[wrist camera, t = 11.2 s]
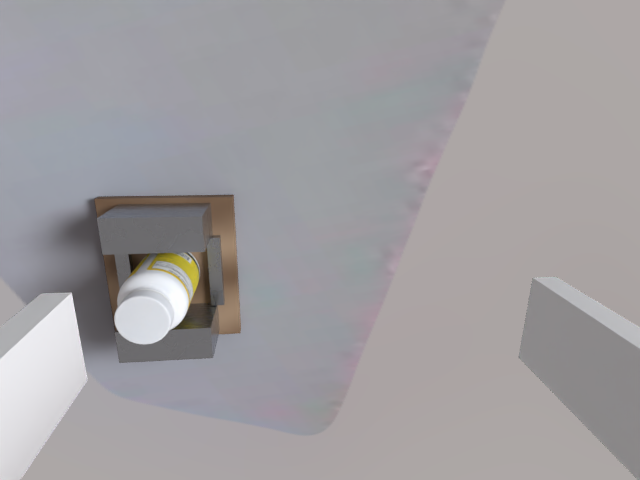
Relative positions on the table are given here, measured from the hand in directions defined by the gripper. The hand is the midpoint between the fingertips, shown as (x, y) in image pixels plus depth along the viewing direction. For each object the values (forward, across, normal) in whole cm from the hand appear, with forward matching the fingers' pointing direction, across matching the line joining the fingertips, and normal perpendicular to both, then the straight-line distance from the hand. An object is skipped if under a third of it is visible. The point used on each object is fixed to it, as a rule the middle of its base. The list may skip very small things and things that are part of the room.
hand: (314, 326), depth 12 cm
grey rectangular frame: (+29, -11, -9) cm, 32 cm away
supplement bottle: (+28, -11, -9) cm, 31 cm away
